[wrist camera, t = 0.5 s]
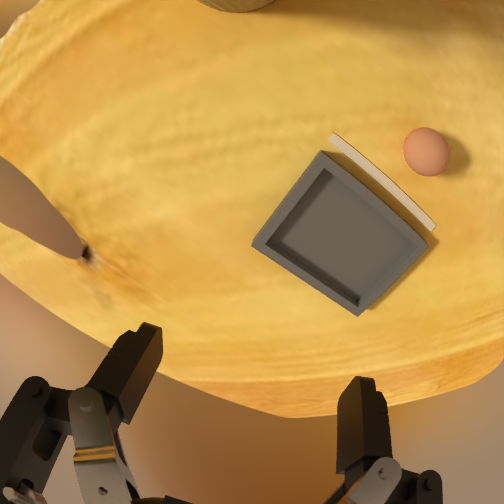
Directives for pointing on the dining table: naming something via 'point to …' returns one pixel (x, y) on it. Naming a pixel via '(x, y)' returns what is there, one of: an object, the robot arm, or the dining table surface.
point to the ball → (426, 151)
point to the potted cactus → (236, 4)
